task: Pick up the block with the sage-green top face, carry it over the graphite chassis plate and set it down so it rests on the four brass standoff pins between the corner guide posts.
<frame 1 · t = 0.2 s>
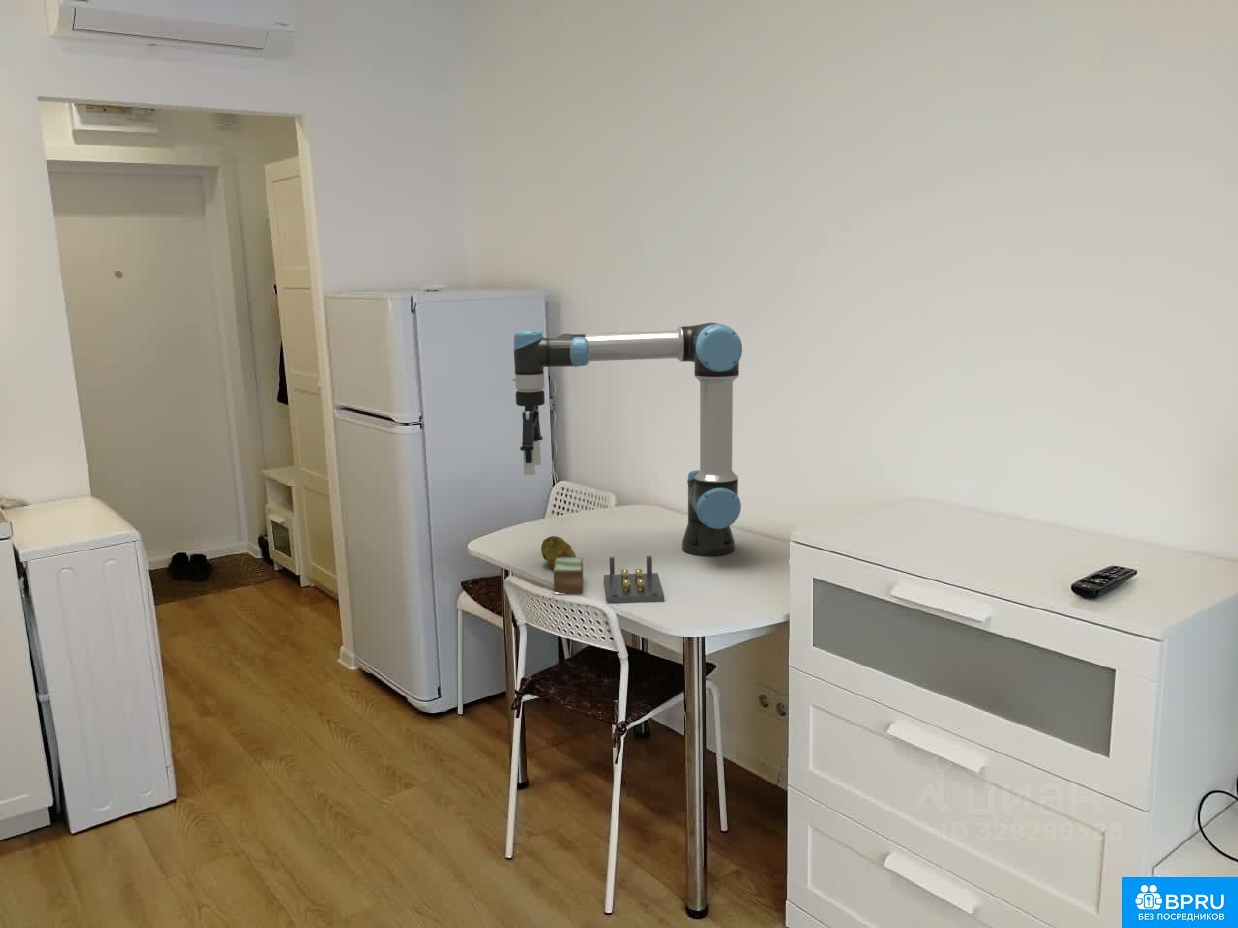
hand: (532, 469, 259), 27 cm above the table, fingers open, 13 cm apart
potato: (559, 568, 266), on the table
block: (569, 587, 249), on the table
chassis: (632, 590, 245), on the table
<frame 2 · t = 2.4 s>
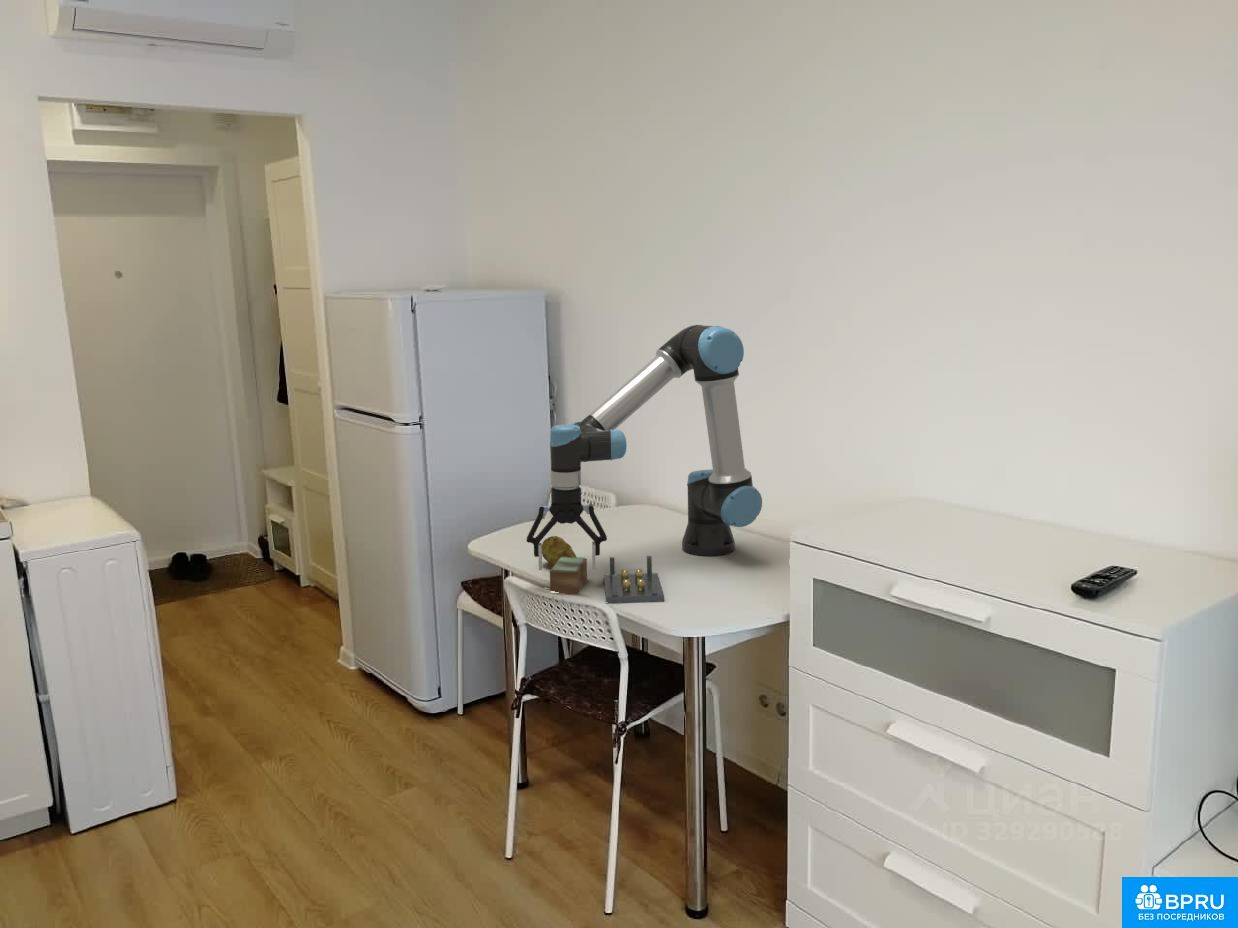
hand: (567, 568, 248), 5 cm above the table, fingers open, 13 cm apart
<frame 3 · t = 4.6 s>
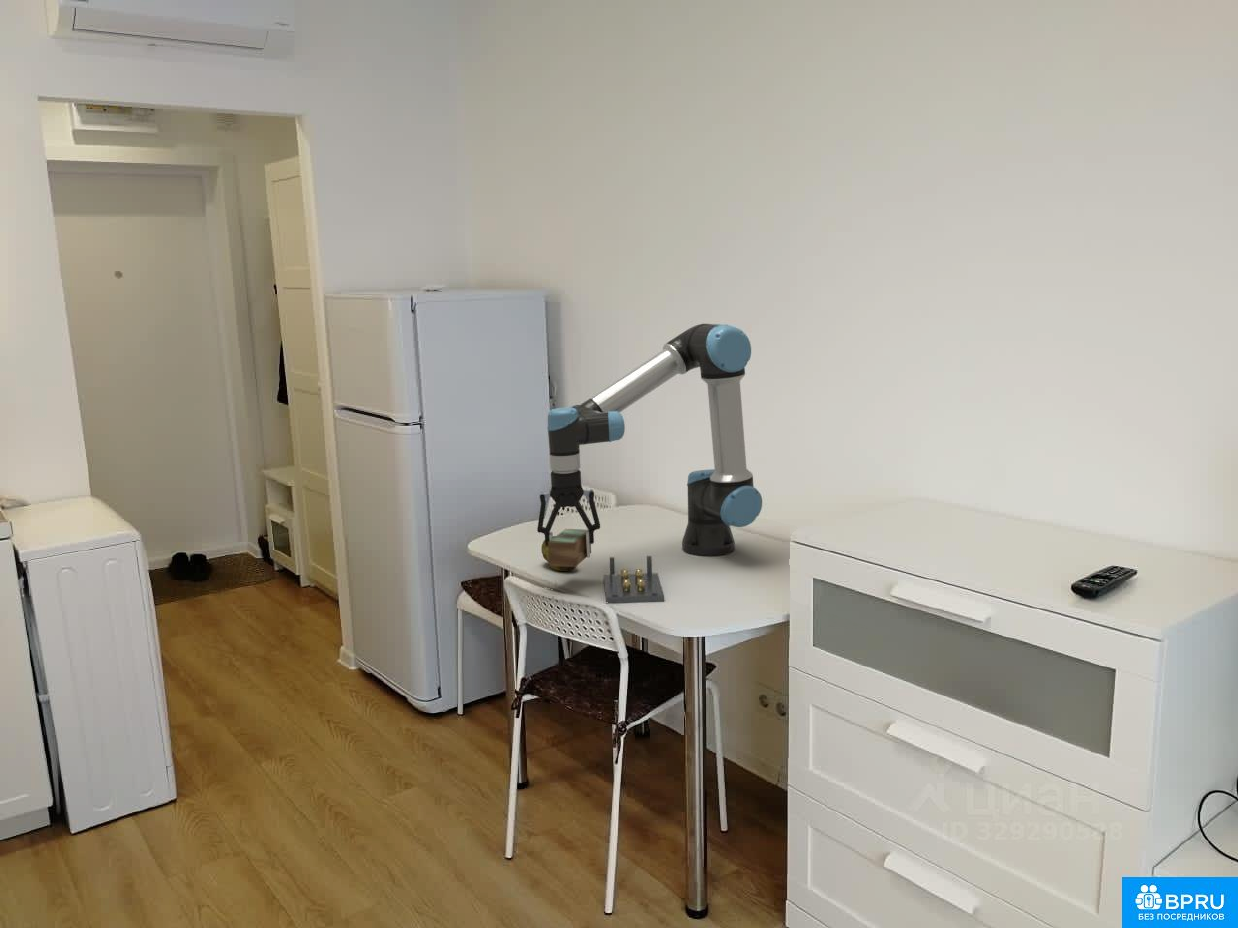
hand: (570, 556, 248), 8 cm above the table, fingers closed on block, 8 cm apart
block: (570, 559, 248), point 7 cm above the table, touching gripper
everything else where it was.
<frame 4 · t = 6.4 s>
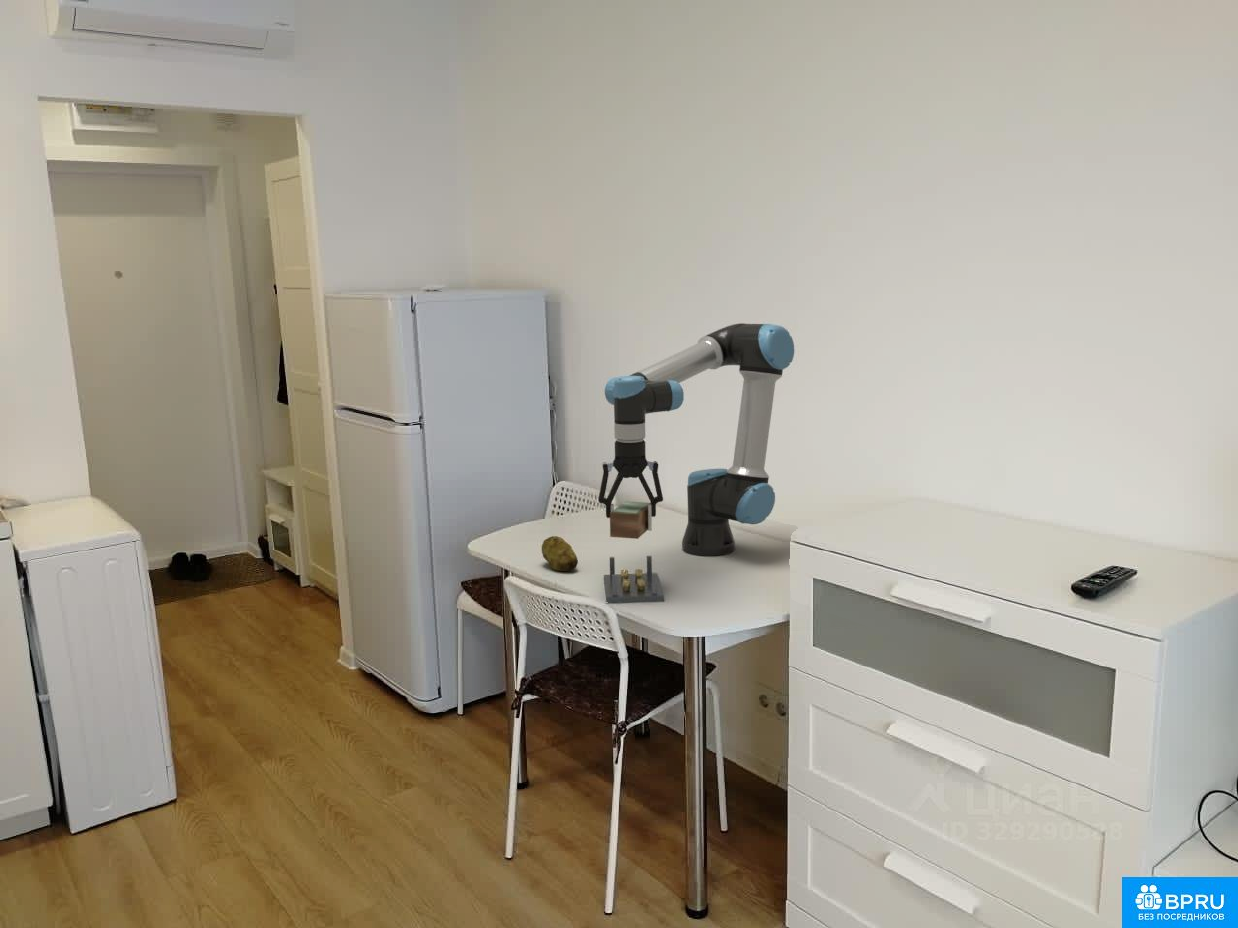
hand: (631, 529, 242), 16 cm above the table, fingers closed on block, 8 cm apart
block: (631, 531, 242), point 15 cm above the table, touching gripper
everything else where it was.
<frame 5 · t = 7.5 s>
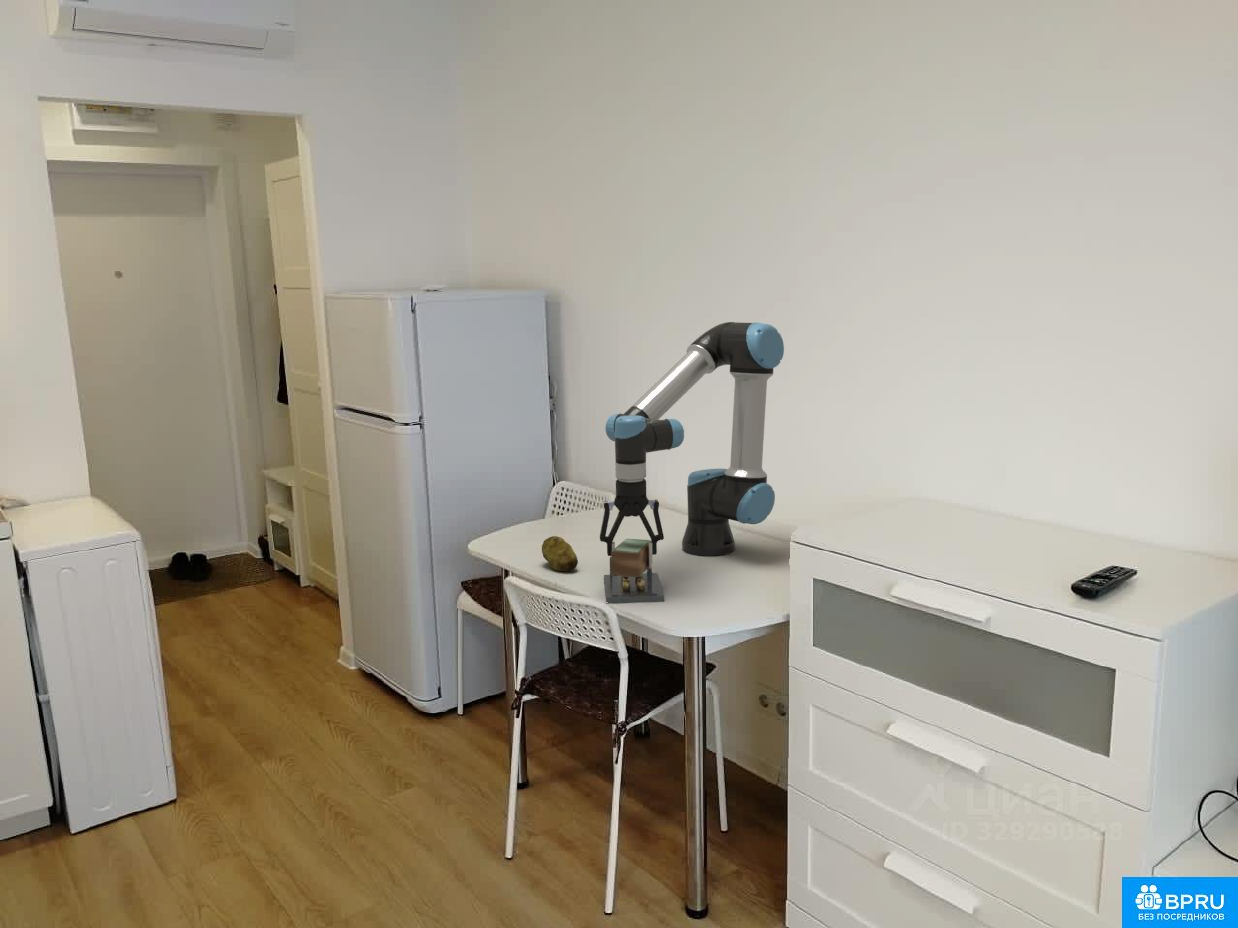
hand: (632, 567, 244), 6 cm above the table, fingers closed on block, 8 cm apart
block: (632, 569, 244), point 6 cm above the table, touching gripper
everything else where it was.
when the fingers open (5 cm above the table, at t = 8.2 s): block stays where it is, resting on chassis.
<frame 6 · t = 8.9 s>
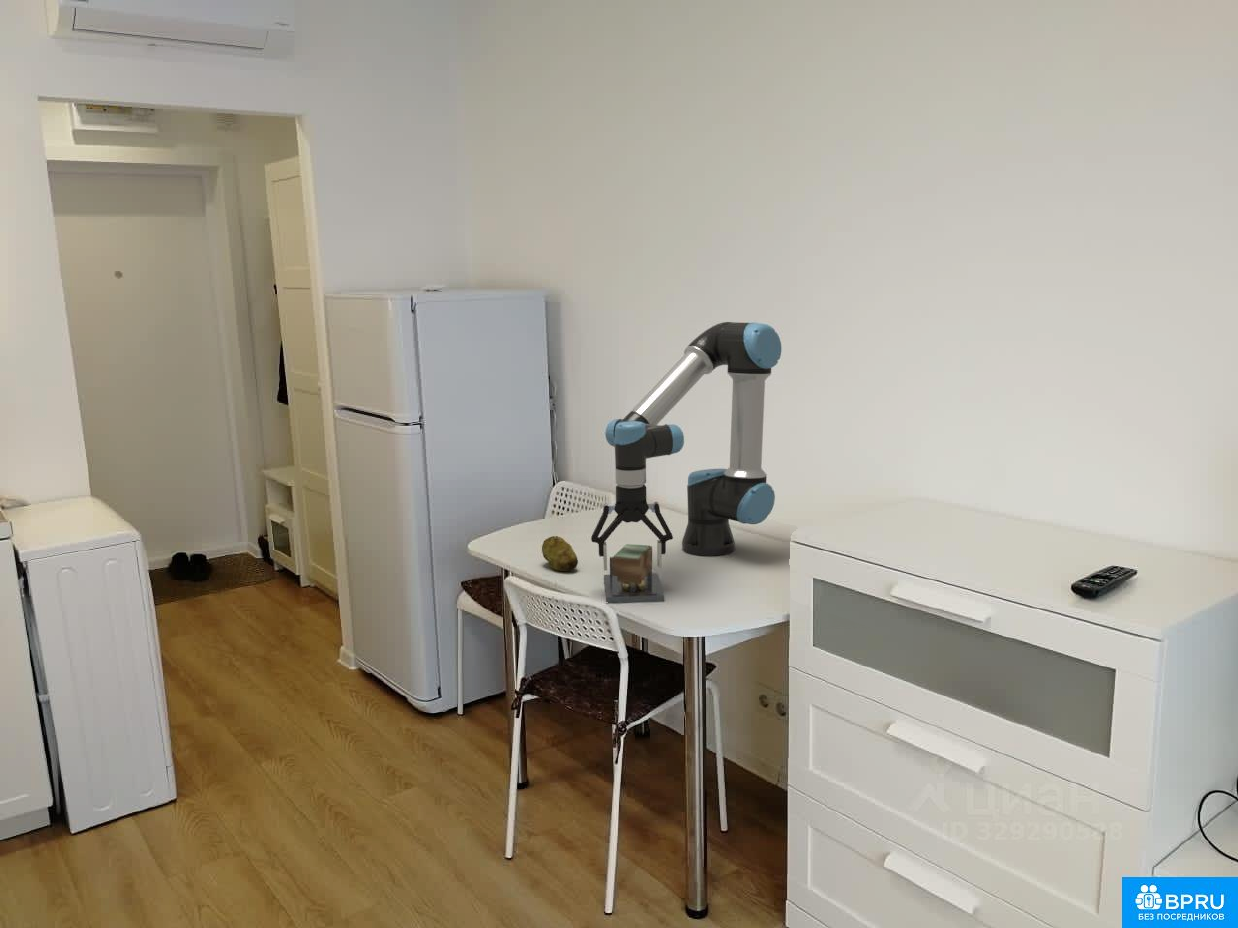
hand: (632, 567, 244), 6 cm above the table, fingers open, 13 cm apart
block: (632, 575, 244), point 4 cm above the table, touching chassis
everything else where it was.
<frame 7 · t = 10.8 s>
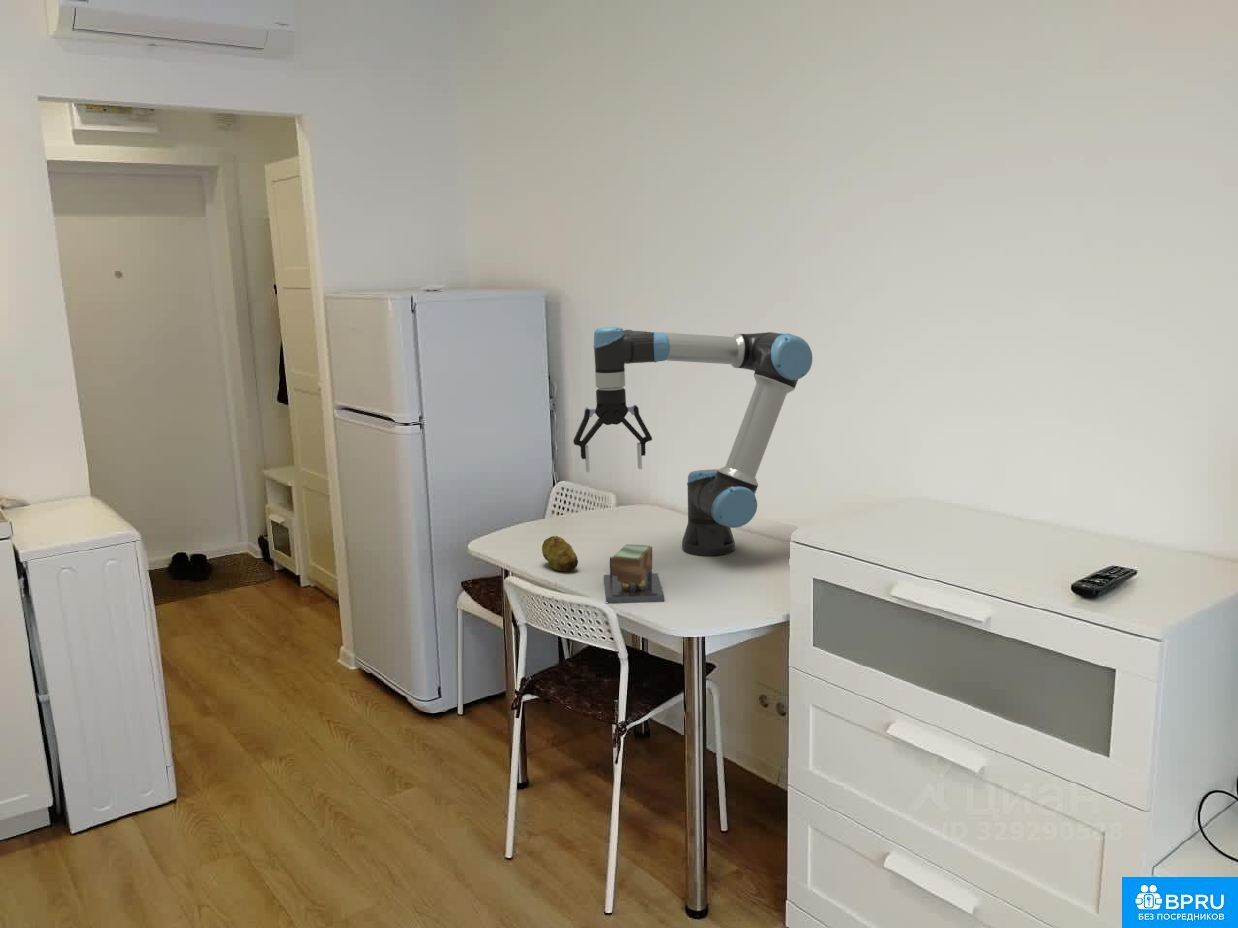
hand: (613, 469, 253), 28 cm above the table, fingers open, 13 cm apart
nothing on the table moved.
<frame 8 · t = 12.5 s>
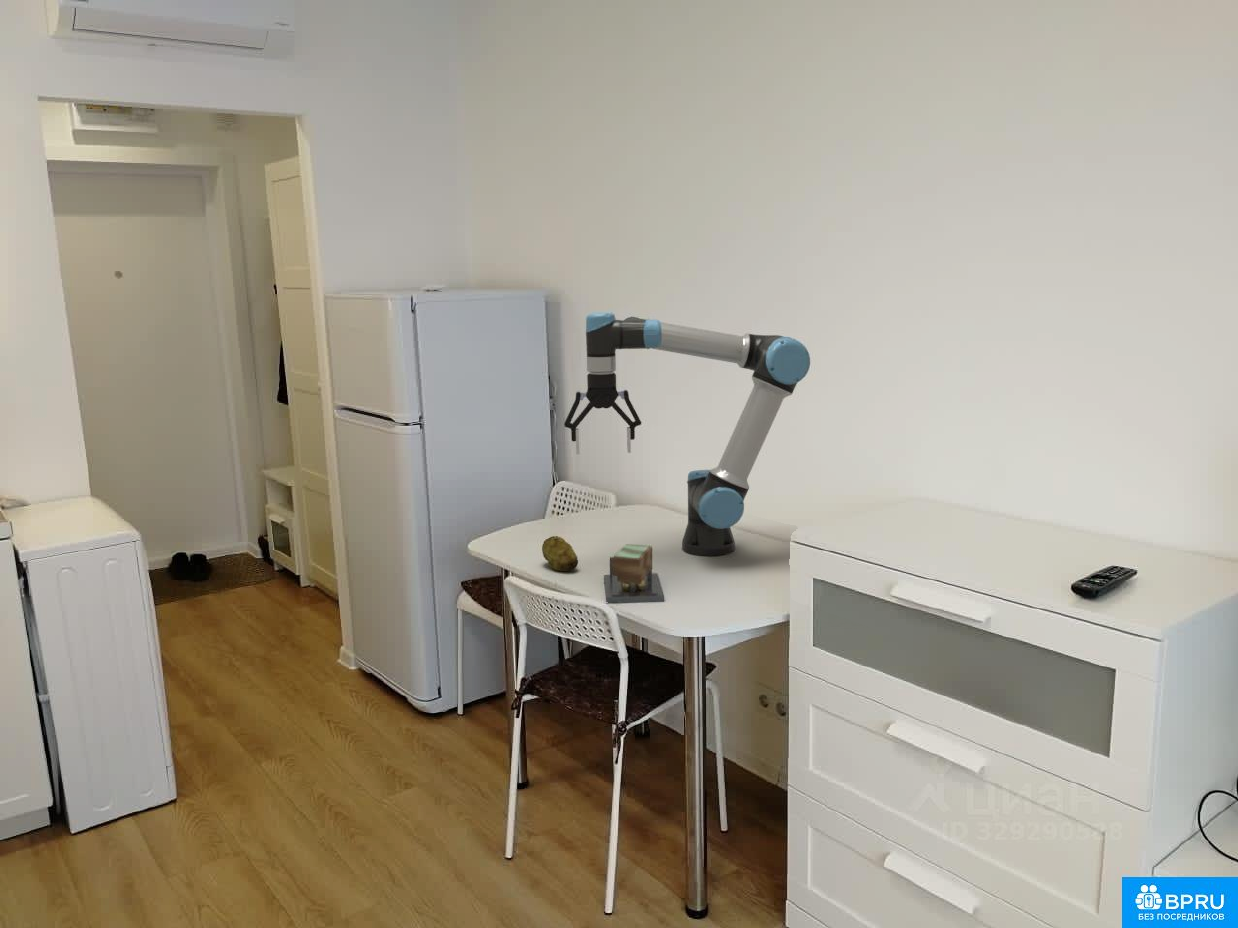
hand: (603, 452, 258), 32 cm above the table, fingers open, 13 cm apart
nothing on the table moved.
at the end: block 0.0 cm off-centre on the chassis, point 4.0 cm above the chassis's base; block tilted 0°; the gripper is holding nothing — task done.
